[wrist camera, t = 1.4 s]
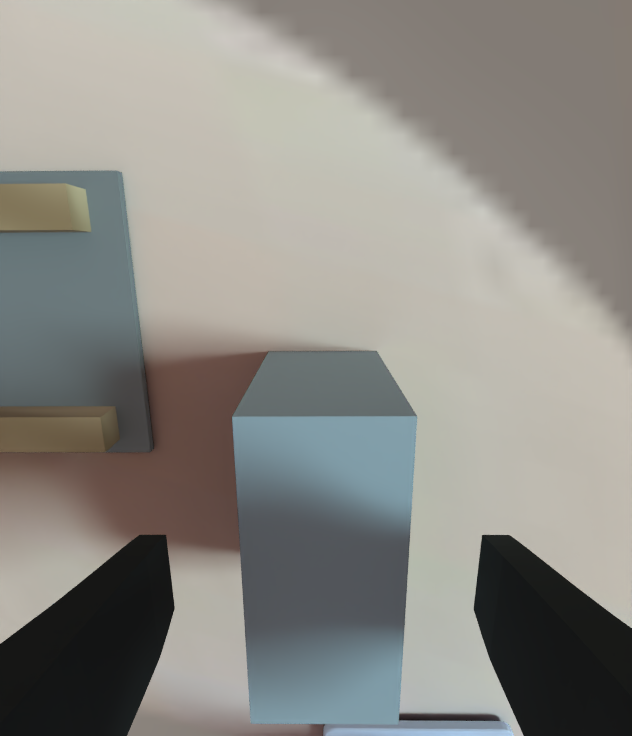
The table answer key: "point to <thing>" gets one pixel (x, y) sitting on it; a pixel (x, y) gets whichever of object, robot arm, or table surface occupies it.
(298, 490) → the bar
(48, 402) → the guide mat
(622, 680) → the robot arm
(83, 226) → the guide rails
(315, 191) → the table surface
